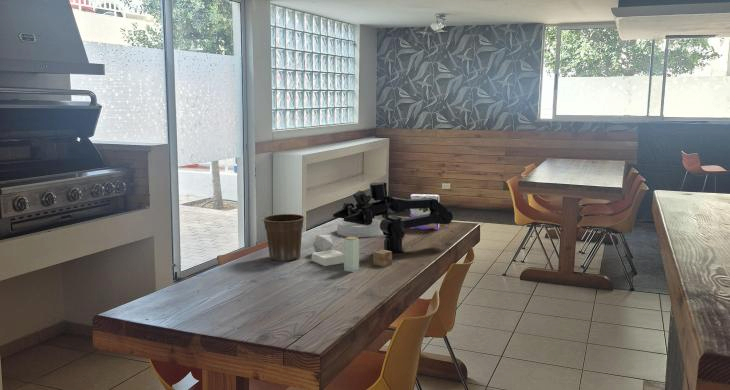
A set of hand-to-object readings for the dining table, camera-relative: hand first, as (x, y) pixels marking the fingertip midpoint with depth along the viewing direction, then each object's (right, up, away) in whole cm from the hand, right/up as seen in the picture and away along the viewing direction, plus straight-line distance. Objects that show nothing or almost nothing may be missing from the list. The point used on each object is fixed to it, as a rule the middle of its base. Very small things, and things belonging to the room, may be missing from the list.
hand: (338, 217), depth 253 cm
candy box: (+39, -8, +62) cm, 73 cm away
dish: (+8, -9, +53) cm, 54 cm away
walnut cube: (+17, -18, -6) cm, 25 cm away
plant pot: (-21, -16, +4) cm, 27 cm away
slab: (-3, -17, -2) cm, 17 cm away
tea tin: (+5, -19, -15) cm, 24 cm away
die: (-6, -15, +9) cm, 19 cm away
